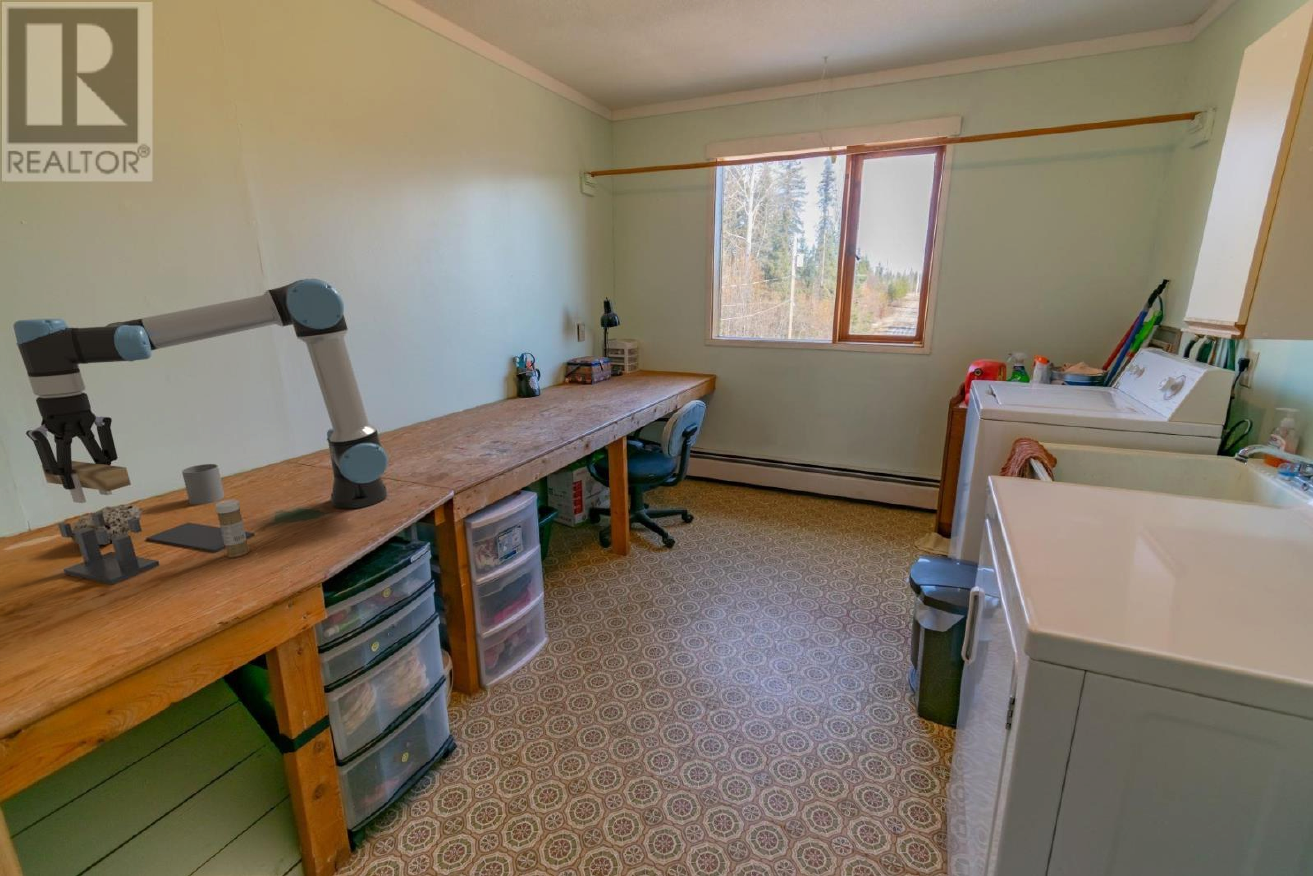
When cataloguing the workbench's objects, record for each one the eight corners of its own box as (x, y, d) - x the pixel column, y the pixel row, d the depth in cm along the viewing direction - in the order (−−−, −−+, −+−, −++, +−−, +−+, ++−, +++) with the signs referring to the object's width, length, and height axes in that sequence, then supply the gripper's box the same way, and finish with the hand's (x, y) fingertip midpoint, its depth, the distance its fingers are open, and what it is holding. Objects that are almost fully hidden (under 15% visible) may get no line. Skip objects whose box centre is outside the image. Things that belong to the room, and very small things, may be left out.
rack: (159, 565, 129) (146, 517, 125) (113, 584, 120) (98, 534, 117) (112, 556, 133) (98, 510, 130) (64, 574, 125) (49, 525, 122)
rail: (131, 484, 120) (126, 467, 119) (109, 491, 117) (103, 473, 116) (70, 476, 126) (64, 459, 125) (47, 482, 122) (41, 465, 121)
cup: (183, 505, 163) (176, 474, 161) (197, 496, 171) (190, 465, 168) (217, 503, 166) (209, 471, 163) (229, 493, 173) (222, 463, 171)
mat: (254, 535, 144) (254, 533, 144) (215, 552, 135) (215, 550, 135) (188, 524, 151) (187, 522, 151) (146, 540, 141) (146, 538, 141)
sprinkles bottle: (247, 547, 137) (236, 497, 134) (251, 553, 134) (240, 502, 131) (224, 554, 134) (212, 502, 130) (228, 560, 131) (216, 507, 127)
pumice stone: (120, 526, 149) (113, 499, 147) (160, 528, 148) (152, 501, 146) (62, 550, 136) (52, 520, 134) (104, 553, 135) (95, 522, 133)
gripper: (98, 386, 125) (126, 483, 131) (-7, 401, 109) (31, 511, 115) (121, 387, 123) (148, 486, 129) (17, 403, 107) (54, 515, 113)
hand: (93, 497), depth 122 cm, fingers closed on rail, 4 cm apart
